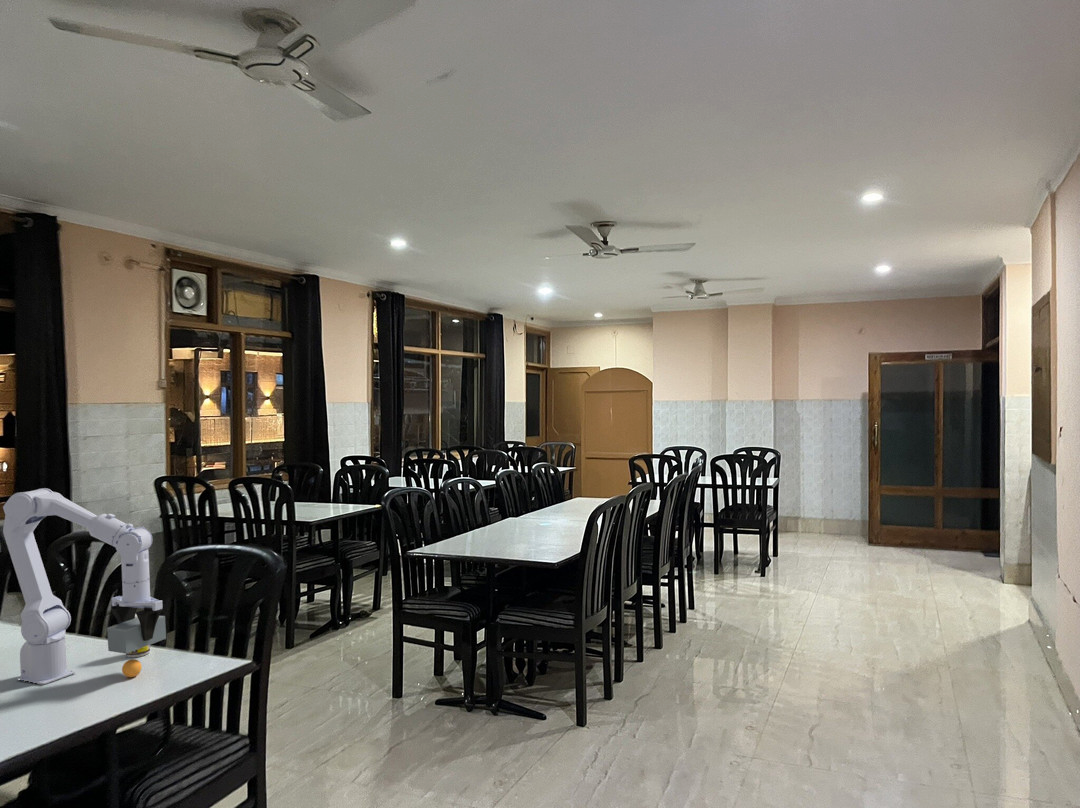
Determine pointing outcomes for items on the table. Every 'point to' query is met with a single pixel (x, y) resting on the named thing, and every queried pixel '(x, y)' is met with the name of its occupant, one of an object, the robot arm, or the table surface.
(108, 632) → the grey rectangular block
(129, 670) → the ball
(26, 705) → the table surface
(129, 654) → the supplement bottle
